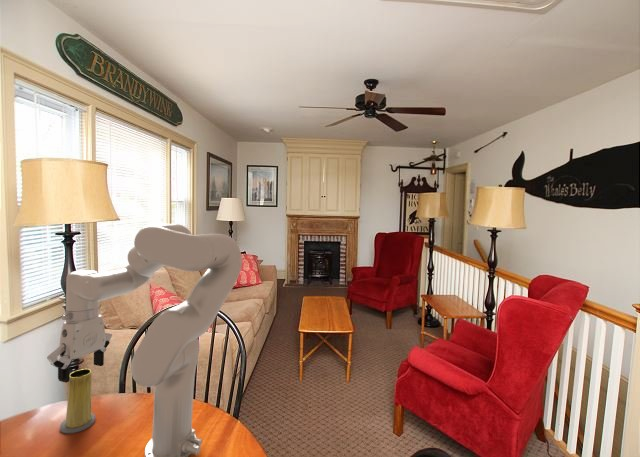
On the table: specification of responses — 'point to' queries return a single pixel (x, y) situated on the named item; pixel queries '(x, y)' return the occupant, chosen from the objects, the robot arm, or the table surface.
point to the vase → (79, 398)
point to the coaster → (77, 429)
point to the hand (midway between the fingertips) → (82, 372)
